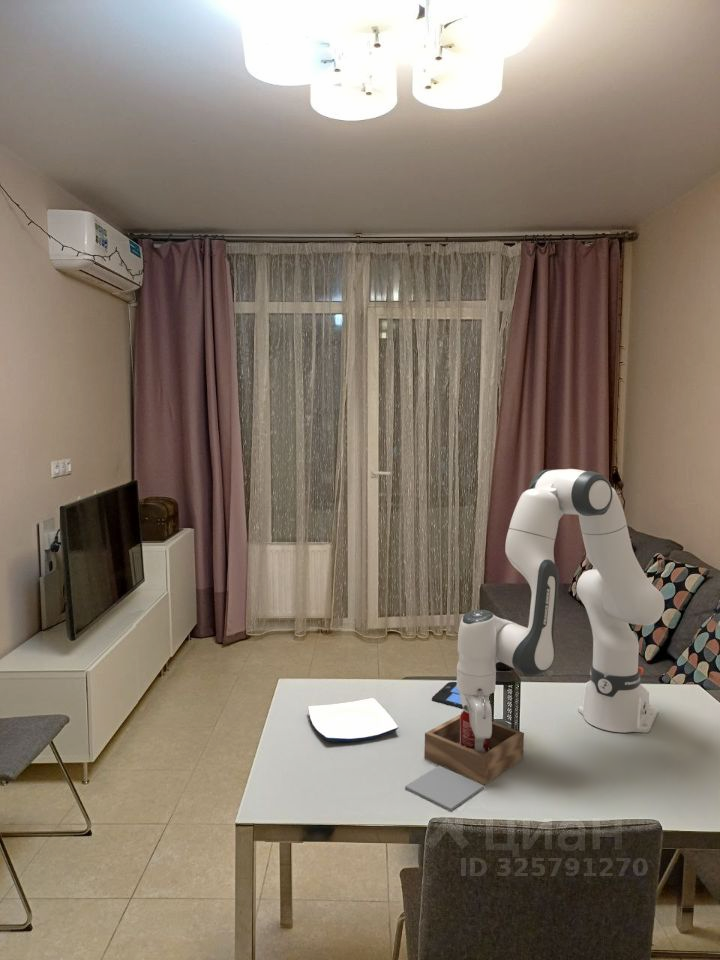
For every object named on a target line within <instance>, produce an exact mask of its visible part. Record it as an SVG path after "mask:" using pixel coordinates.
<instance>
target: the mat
mask: <svg viewBox="0 0 720 960" xmlns="http://www.w3.org/2000/svg"><path fill="white" fill-rule="evenodd" d="M404 789H405V790H407V791H408V792H411V793H413V794H415V795H417V796H419V797H421V798H423V799H425V800H427V801H429V802H430V803H431V802H432V804H435V805H437V806H439V807H440V808H443V809H445V810H447V811H450V812H452V811H454V810H455V809H457V808H458V807H459V806H461V805H462V804H464V803H465V802H467V801H468V800H470V799H471V798H472V797H474V796H475V795H477V794H478V793H479V792H481V791H482V790H484V789H485V784H482V783H479V782H477V781H475V780H473V779H471V778H468V777H466V776H464V775H462V774H459V773H457V772H455V771H453V770H450V769H448V768H446V767H444V766H441V765H438V766H436V767H434V768H432V769H431V770H430V771H428V772H426V773H424V774H422V775H421V776H420V777H417V778H416V779H415V780H413V781H411V782H410V783H407V784H406V785H405V786H404Z"/></svg>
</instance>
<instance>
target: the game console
mask: <svg viewBox="0 0 720 960" xmlns="http://www.w3.org/2000/svg"><path fill="white" fill-rule="evenodd" d="M431 700H432V702H435V703H440V704H442V705H446V706H448V707H454V708H457V709H462V710H463V706H462V704H461V701H460V694H459V690H458V689H457V681H449V682H447V683H446V684H445V685H444V686H443V687H442V688H441V689H440V690H439V691H437V692H436V693H435V694H434V695H432V697H431Z"/></svg>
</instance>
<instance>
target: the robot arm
mask: <svg viewBox="0 0 720 960" xmlns="http://www.w3.org/2000/svg"><path fill="white" fill-rule="evenodd" d="M619 497H620V496H618V493H617V491H616V490H615V488H614V487H612V485H611V482H610V481H609V480H608V478H607V477H606V476H604V475H603V474H601V473H599V472H597V471H596V472H595V471H592V470H587V471H586V470H582V469H575V468H567V469H565V468H564V469H563V468H562V469H555V468H549V469H544V470H540V471H539V472H537V473H536V474H535V475H534V477H532V479H531V482H530V483H529V486H528V489H527V490H525V491H523V492H522V493H521V495H520V496H519V499H518V500H517V503H516V506H515V508H514V511H513V514H512V516H511V519H510V523H509V527H508V531H507V534H506V537H505V538H506V539H505V545H504V546H505V552H504V553H505V555H506V557H507V559H508V561H509V563H510V564H511V565H512V566H513V568H514V569H515V570H517V571H518V572H519V573H520V574H521V575H522V576H523V577H524V579H525V580H526V582H528V584H529V586H530V591H531V598H530V607H529V608H530V609H529V617H528V626H527V627H526V626H523V625H520V624H518V623H516V622H514V621H510V620H509V619H505V618H501V617H498V616H497V615H495V614H494V613H493V612H491V611H490V610H486V609H474V610H470V611H468V612H466V613H465V614H463V616H462V618H461V619H460V623H459V627H458V633H457V653H458V662H457V665H456V682H457V689H458V690H459V694H460V701H461V704H462V706H463V707H464V706H465V705H466V708H467V711H468V712H469V720H470V725H471V728H472V730H473V733H474V735H475V740H474V747H475V749H476V750H483V743H484V740H485V738H490V737H491V735H492V720H493V716H492V715H493V714H492V705H491V703H490V702H491V701H490V702H489V700H488V698H489V696H490V694H492V693H493V694H494V693H495V691H496V680H497V679H496V678H497V675H496V673H497V667H496V665H497V663H502V664H504V665H507V666H509V667H511V668H513V669H515V670H516V671H518V672H519V673H521V674H523V675H524V676H526V677H528V678H536V677H538V676H541V675H543V674H545V673H546V672H548V670H550V668H551V667H552V666H553V664H554V662H555V657H556V645H555V627H556V618H557V617H556V616H557V608H558V596H559V586H560V585H559V584H560V573H559V569H558V566H557V565H556V563H555V556H554V549H555V548H554V547H555V542H556V537H557V533H558V528H559V521H560V519H561V518H562V517H563V516H564V515H578V519H579V520H578V521H579V526H580V532H581V535H582V541H583V544H584V549H585V555H586V557H587V560H588V561H589V563H590V564H591V565H592V566H593V567H594V569H588V570H586V571H584V572H582V574H581V575H580V576H579V577H578V580H577V583H576V593H577V596H578V598H579V600H580V601H581V603H582V604H583V606H584V607H585V610H586V613H587V616H588V619H589V624H590V628H591V632H592V642H593V643H592V644H593V645H592V664H591V665H590V671H589V676H590V677H589V678H590V680H588V681H587V682H585V686H584V693H583V701H582V704H580V705H579V706H578V707H577V711H578V712H579V713H580V714H581V715H582V716H583V718H584V720H585V721H586V722H587V723H588V724H590V725H591V726H594V727H596V728H597V729H600V730H604V731H608V732H613V733H614V732H615V733H650V732H651V731H650V730H651V729H652V726H653V724H654V722H655V720H656V718H657V716H658V713H659V712H658V708H656V706H653V705H652V704H650V692H649V691H648V690H647V689H646V688H645V687H644V686H643V685H642V684H641V676H642V675H643V674H644V668H643V667H641V666H639V655H640V654H639V650H640V644H639V640H638V638H637V636H636V635H635V634H634V632H633V631H632V628H631V626H630V625H638V626H652V625H654V624H656V623H657V622H658V621H659V620H660V619H661V617H662V616H663V613H664V611H665V599H664V595H663V594H662V593H661V591H660V590H658V589H657V587H656V586H654V584H653V583H652V581H650V579H649V578H648V576H647V575H646V573H645V572H644V570H643V569H642V566H641V565H640V562H639V561H638V559H637V557H636V555H635V552H634V549H633V546H632V541H631V537H630V532H629V529H628V524H627V519H626V515H625V511H624V508H623V506H622V502H621V500H620V498H619ZM629 624H630V625H629ZM483 718H484V719H483Z"/></svg>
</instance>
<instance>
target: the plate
mask: <svg viewBox="0 0 720 960" xmlns="http://www.w3.org/2000/svg"><path fill="white" fill-rule="evenodd" d="M307 710H308V715H309V720H310V722H311V724H312V726H313V728H314V729H315V730H316V732H317V733H318V734H319V735H320V736H321V737H323V739H325V740H326V741H328V742H356V741H364V740H369V739H375V738H376V739H377V738H379V737H382V736H386V735H388V734H389V735H390V734H391V733H394V732H396V731H397V730H398V729H399V726H398V725H397V723H396V721H394V719H393V717H392V716H391V715H390V713H389V712H387V710H386V709H385V708H384V707H383V706H382V705H381V704H380V703H379V702H378V701H377V700H376V698H375V697H374V698H373V697H370V698H366V699H359V700H355V701H348V702H341V703H333V704H322V705H321V704H320V705H309V706H308V707H307Z"/></svg>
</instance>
